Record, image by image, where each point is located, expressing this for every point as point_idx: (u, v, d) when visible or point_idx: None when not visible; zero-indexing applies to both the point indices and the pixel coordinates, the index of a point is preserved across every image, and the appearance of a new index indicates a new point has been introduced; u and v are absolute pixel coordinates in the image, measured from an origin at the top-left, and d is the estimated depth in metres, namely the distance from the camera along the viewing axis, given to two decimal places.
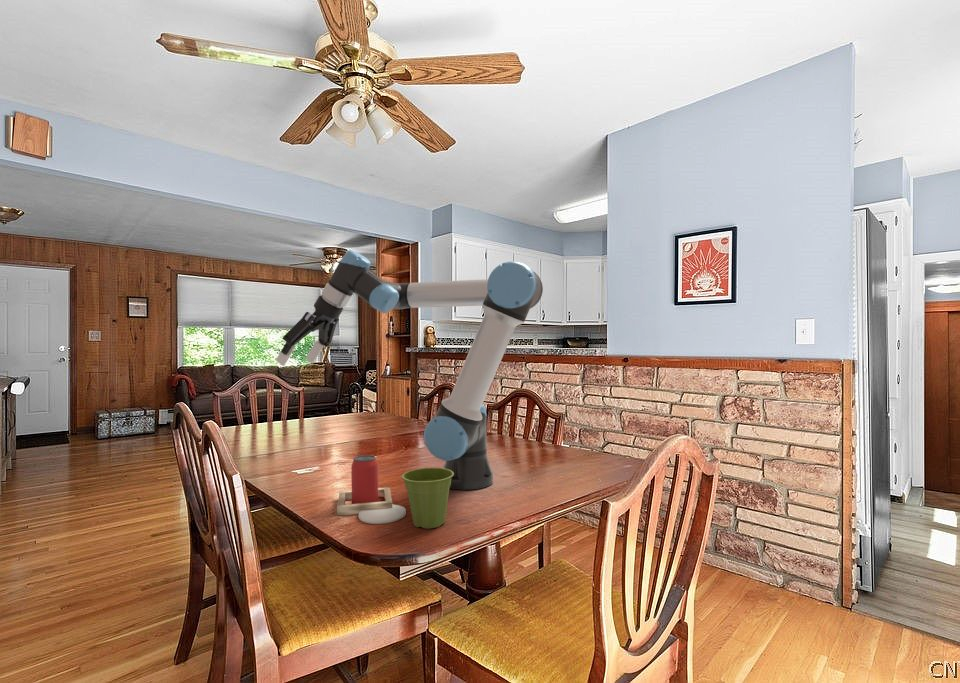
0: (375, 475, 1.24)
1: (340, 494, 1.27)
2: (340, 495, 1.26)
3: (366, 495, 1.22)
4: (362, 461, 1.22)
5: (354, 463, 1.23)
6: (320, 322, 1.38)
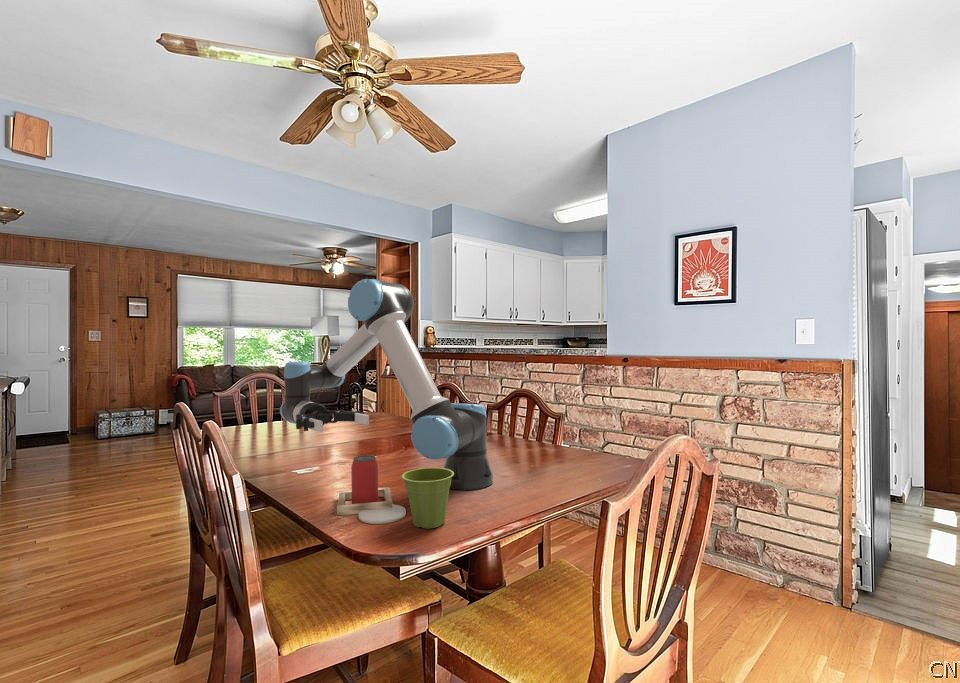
0: (375, 475, 1.24)
1: (340, 494, 1.27)
2: (340, 495, 1.26)
3: (366, 495, 1.22)
4: (362, 461, 1.22)
5: (354, 463, 1.23)
6: None
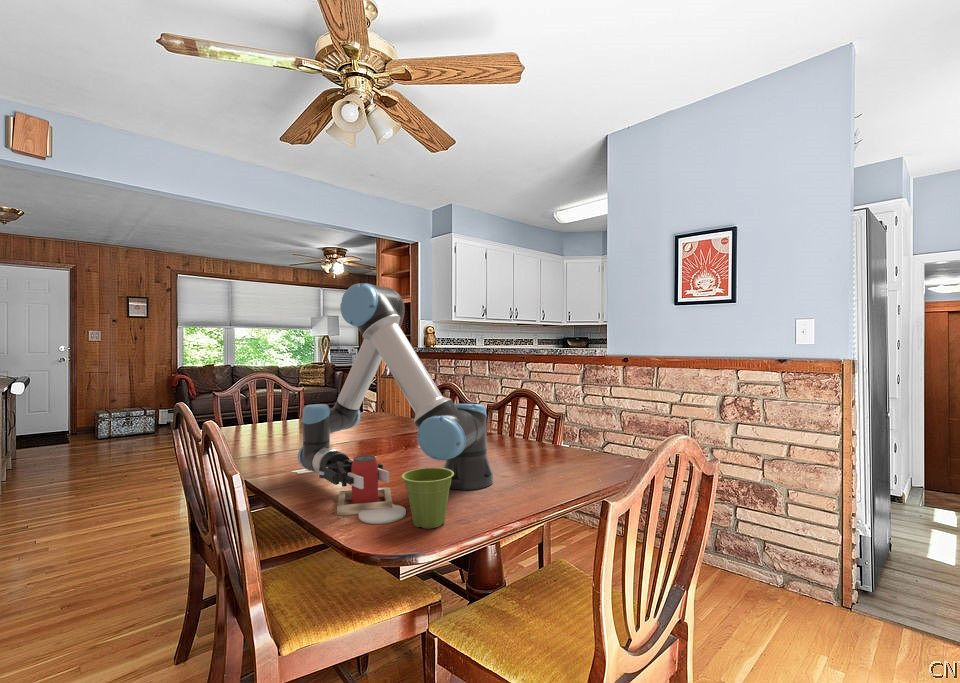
0: (375, 475, 1.24)
1: (340, 494, 1.27)
2: (340, 495, 1.26)
3: (366, 495, 1.22)
4: (362, 461, 1.22)
5: (354, 463, 1.23)
6: (336, 464, 1.31)
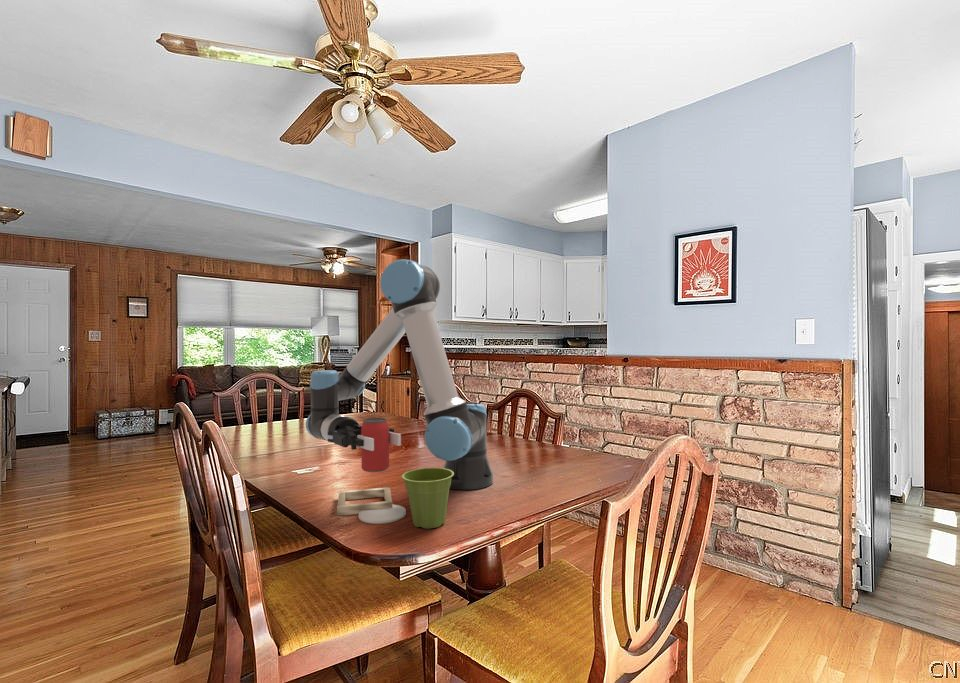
0: (386, 438, 1.17)
1: (340, 494, 1.27)
2: (340, 495, 1.26)
3: (377, 458, 1.15)
4: (372, 422, 1.16)
5: (364, 425, 1.16)
6: (345, 428, 1.25)
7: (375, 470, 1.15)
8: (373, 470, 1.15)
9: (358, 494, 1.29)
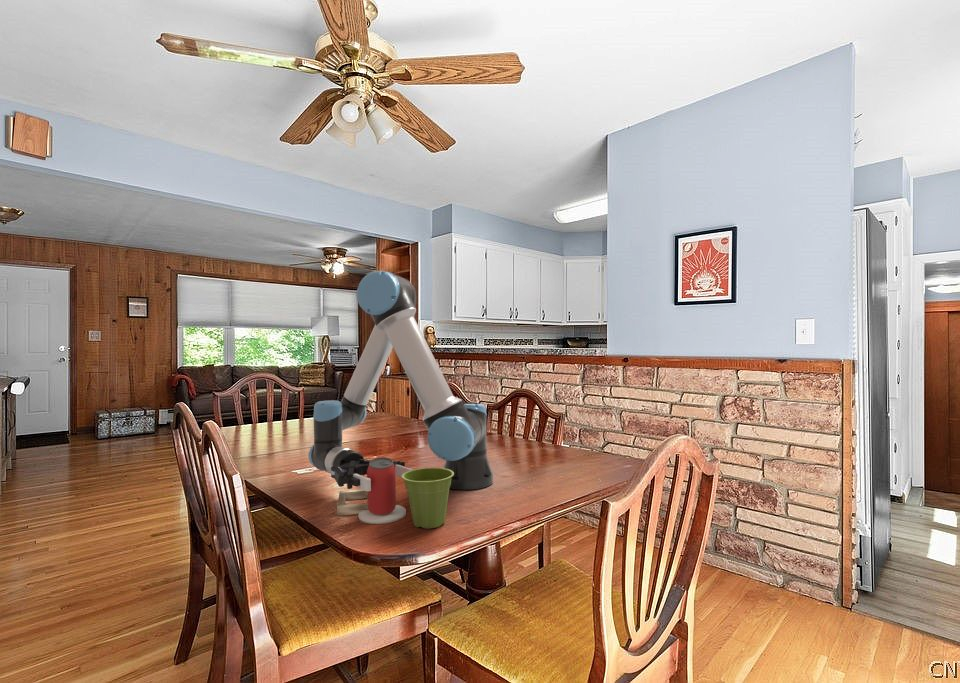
0: (393, 482, 1.14)
1: (340, 494, 1.27)
2: (340, 495, 1.26)
3: (384, 503, 1.13)
4: (379, 469, 1.12)
5: (370, 470, 1.13)
6: (350, 463, 1.24)
7: (382, 514, 1.14)
8: (380, 514, 1.14)
9: (358, 494, 1.29)
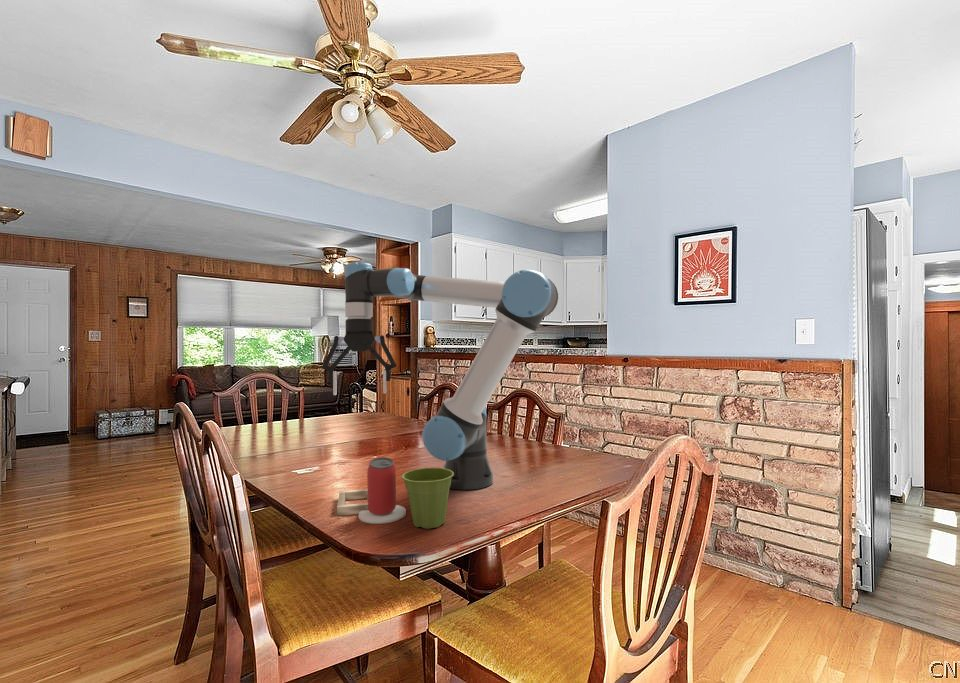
0: (393, 482, 1.14)
1: (340, 494, 1.27)
2: (340, 495, 1.26)
3: (384, 503, 1.13)
4: (379, 468, 1.12)
5: (370, 469, 1.13)
6: (351, 341, 1.36)
7: (382, 514, 1.14)
8: (380, 514, 1.14)
9: (358, 494, 1.29)
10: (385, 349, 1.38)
